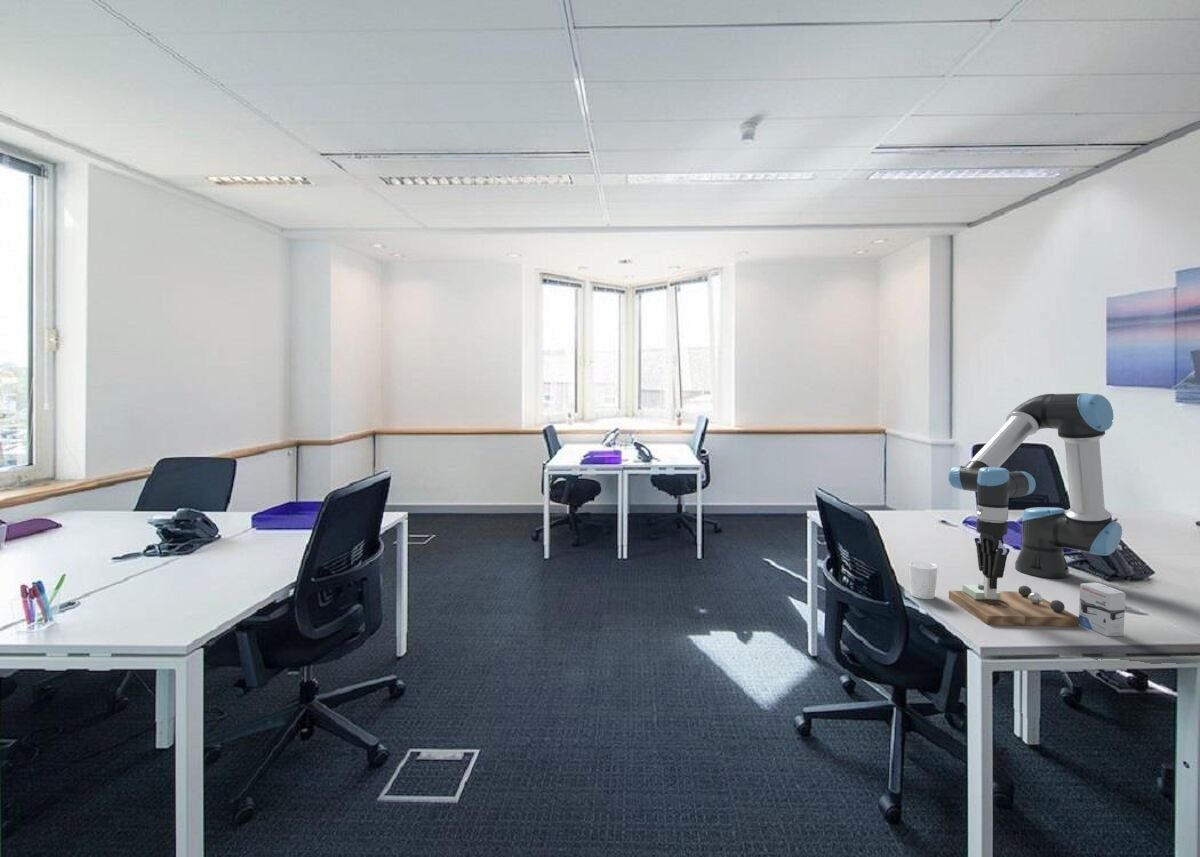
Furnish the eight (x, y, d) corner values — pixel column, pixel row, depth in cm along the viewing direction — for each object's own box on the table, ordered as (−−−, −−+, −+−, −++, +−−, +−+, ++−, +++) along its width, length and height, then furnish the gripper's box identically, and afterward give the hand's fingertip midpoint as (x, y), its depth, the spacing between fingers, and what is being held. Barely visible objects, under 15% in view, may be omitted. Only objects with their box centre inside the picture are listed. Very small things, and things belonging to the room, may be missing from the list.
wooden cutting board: (1029, 599, 173) (1029, 591, 173) (1079, 626, 153) (1079, 617, 153) (948, 598, 175) (948, 590, 175) (987, 624, 155) (987, 615, 155)
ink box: (1077, 623, 155) (1078, 582, 154) (1093, 622, 155) (1095, 581, 155) (1107, 637, 147) (1109, 593, 146) (1124, 636, 147) (1126, 592, 146)
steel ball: (1036, 601, 165) (1037, 591, 165) (1044, 605, 162) (1044, 594, 162) (1025, 601, 165) (1025, 590, 165) (1032, 605, 162) (1033, 594, 162)
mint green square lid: (986, 591, 173) (986, 581, 173) (1000, 599, 166) (1000, 589, 166) (962, 590, 174) (962, 581, 174) (975, 599, 167) (975, 589, 167)
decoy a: (1026, 594, 171) (1027, 584, 171) (1034, 598, 168) (1034, 587, 167) (1015, 594, 171) (1016, 584, 171) (1022, 598, 168) (1023, 587, 168)
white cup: (926, 602, 173) (927, 570, 172) (902, 594, 180) (903, 563, 179) (942, 597, 176) (942, 566, 176) (918, 589, 183) (918, 560, 183)
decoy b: (1059, 609, 159) (1059, 598, 159) (1067, 613, 156) (1067, 602, 155) (1047, 609, 159) (1047, 598, 159) (1055, 613, 156) (1055, 602, 156)
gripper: (966, 515, 171) (964, 590, 172) (992, 525, 158) (990, 606, 160) (991, 515, 170) (989, 590, 172) (1020, 525, 157) (1017, 606, 159)
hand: (990, 597), depth 166 cm, fingers closed
